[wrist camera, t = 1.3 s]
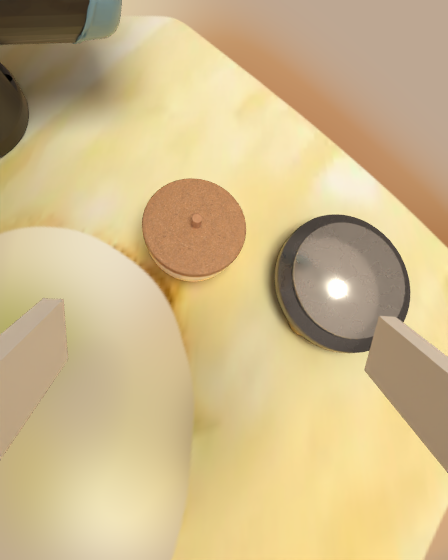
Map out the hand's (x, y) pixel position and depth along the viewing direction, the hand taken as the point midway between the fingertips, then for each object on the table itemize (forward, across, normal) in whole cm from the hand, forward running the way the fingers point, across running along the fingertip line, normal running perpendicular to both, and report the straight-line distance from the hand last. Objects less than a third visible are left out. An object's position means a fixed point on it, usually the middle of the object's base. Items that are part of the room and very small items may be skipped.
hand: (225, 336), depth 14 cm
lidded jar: (+28, -2, -3) cm, 28 cm away
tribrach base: (+27, +17, -7) cm, 32 cm away
